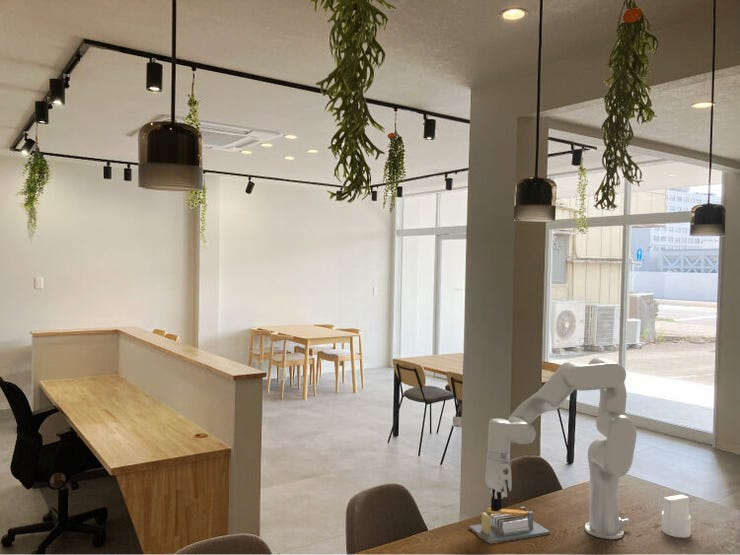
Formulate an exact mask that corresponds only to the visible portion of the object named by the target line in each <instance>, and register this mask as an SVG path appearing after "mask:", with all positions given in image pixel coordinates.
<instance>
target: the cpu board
mask: <svg viewBox="0 0 740 555" xmlns="http://www.w3.org/2000/svg"><path fill="white" fill-rule="evenodd" d="M526 509H527V508H526V506H520V507H519V510H526ZM526 511H527V510H526ZM527 512H528V516H524V515H522V517H525V519H528V527H529V532H525V533H519V534H513V535H507V536H503V535H502V534H501V533H499V532H498V531H497V530H495V529H494V528H493V527H491V514H488V513H487V512H481V523H480V524H473V525H469V526H468V528H469V527H470V528H471V529H473V530H474V531H475V532H476V533H477V534H479V535H480V536H481V537H482V538H483V539H485V540H486V541H487V542H488V543H493V542H501V543H504V542H503V541H507V542H510V541H509V540H513V541H516V540H515V539H519V540H524V539H523V538H525V539H529V538H528V537H531V538H537V537H542V536H541V535H543V536H549V535H551V532H550V530H549V529H547V528H546V527H544V526H542V525H541V524H539V523H537V522H536V521H534V512H533V510H531V511H527ZM477 534H476V535H477ZM548 534H549V535H548ZM536 536H537V537H536ZM482 538H481V539H482ZM483 539H482V540H483ZM487 542H486V543H487ZM488 543H487V544H488Z"/></svg>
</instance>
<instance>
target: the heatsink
mask: <svg viewBox="0 0 740 555" xmlns="http://www.w3.org/2000/svg"><path fill="white" fill-rule="evenodd" d="M490 516H491V527H493V528H494V529H495V530H497V531H498V532H499V533H501V534H502V535H503V536H507V535H513V534H519V533H525V532H529V527H528V519H525V517H526V516H525V517H522V515H508V514H492V513H491V514H490Z"/></svg>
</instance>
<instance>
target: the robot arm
mask: <svg viewBox="0 0 740 555" xmlns="http://www.w3.org/2000/svg"><path fill="white" fill-rule="evenodd" d="M626 378H627V372H626V370H625V368H624V366H623V365H622V364H621V363H619V362H617V361H614V360H611V359H608V358H604V357H594V358H592V359H591V360H589V362H588V364H580V363H577V362H574V361H566V362H564V363H562V364H561V365H559V367H558V368H557V369H556V370H555V371H554V372H553V374H551V376H550V377H549V378H548V379H547V381H546V382H545V383H544V385H543V386H541V388H540V389H539V390H538V391H537V392H535V393H533V394H532V395H531V396H530V397H528V398H526V399H524V401H523V402H521V403H520V404H519V405H518V406H517V407H516V409H515V410H513V412H512V413H511V415H510V416H509V417H508V419H504V418H498V417H497V418H491V419H489V422H488V432H487V433H488V434H487V455H486V457H487V458H486V464H485V473H484V474H485V475H484V478H485V480H484V481H485V484H486V486H487V487H488V489H489V491H490V497H491V500H490V501H491V502H490V508H491V509H493V510H501V509H503V508H502V507H503V499H504V498H507V497H508V492H511V491H512V487H513V486H512V485H513V484H512V481H513V480H512V478H513V477H512V467H511V462H510V458H511V456H510V455H511V443H515V444H519V445H528V444H531V443H532V442H533V441H534V440H536V437H537V432H536V429H535V427H534V426H533V425H532V423H533V422H534V421H535V420H536V418H538V417H539V416H540V415H543V414H546V413H548V412H551V411H555V410H557V409H559V408H560V407H561V406H562V404H564V402H565V401H566V400H567V399H568V397H569V396H570V395H571V394H572V393H573V392H574V391H575V390H576V391H586V392H587V391H594V390H595V391H596V390H599V402H598V403H599V404H598V409H597V415H596V421H595V426H596V429H597V431H598V432H599V433H600V435H602V436H604V437H605V438H606V439H604V438H598V439H595V440H593V441H592V442H591V443H590V444H589V447H588V450H587V462H588V468H589V469H588V470H589V520H588V521H589V522H586V523H585V525H584V530H585V532H586V533H587V534H589V535H591V536H593V537H596V538H599V539H604V540H617V539H618V540H619V539H621V538H623V537H624V536H625V532H624V529H623V528H622V527H623V526H628V525H630V524H631V520H630V519H629V518H622V517H620V478H621V477H623V476H625V475H626V474H628V473H629V471H630V470H631V467H632V465H633V459H634V456H635V455H634V454H635V448H636V441H637V428H636V424H635V423H634V421H633V420H632V419H631V418H630V417H629V416H627V415H626V405H627V397H628V396H627V387H626V384H625V380H626Z"/></svg>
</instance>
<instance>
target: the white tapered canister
mask: <svg viewBox="0 0 740 555" xmlns="http://www.w3.org/2000/svg"><path fill="white" fill-rule="evenodd" d="M662 508H663V510H662V511H661V531H662V532H663V533H664V534H666V535H668V536H671V537H674V538H689V537H690V536H691V535H692V534H691V533H692V532H691V529H692V528H691V527H692V526H691V525H692V522H691V520H692V517H691V515H690V497H689V496H687V495H685V494H677V495H675V494H674V495H671V496H670V495H669V496H664V497H663V507H662Z"/></svg>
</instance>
